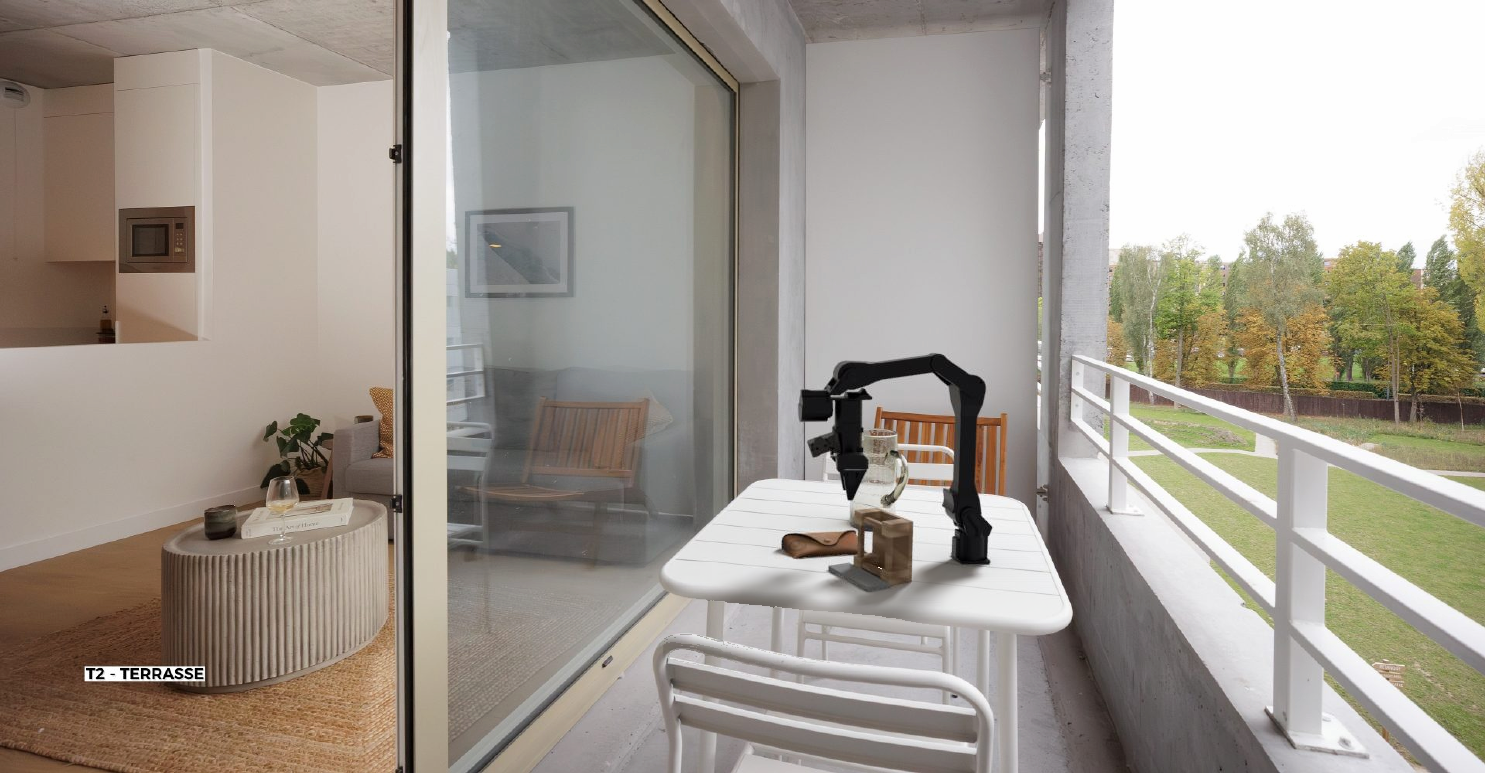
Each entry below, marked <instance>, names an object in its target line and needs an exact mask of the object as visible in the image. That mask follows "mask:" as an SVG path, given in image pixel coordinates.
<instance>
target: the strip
mask: <svg viewBox="0 0 1485 773" xmlns="http://www.w3.org/2000/svg"><path fill="white" fill-rule="evenodd" d="M827 568H828V569H829V571H830V572H832V571H833V572H832V573H834V574H835V573H836V575H837V574H839V575H840V577H841V576H842V577H841V578H843V577H844V578H846V579H847V580H846V579H845V580H846V581H848V580H849V582H850V581H851V582H850V583H852V582H853V583H852V584H854V585H855V584H857V585H859V586H860V587H859V586H858V587H859V588H861V587H862V588H861V589H863V588H864V589H866V590H867V592H868V591H869V592H873V591H872V590H875V591H878V590H877V589H880V590H884V589H883V588H886V589H890V588H891V585H890V583H888V582H886V581H884V580H882V579H881V577H877V575H874V574H872V573H871V572H868V571H867V570H865V571H864V570H862V569H861V568H859V567H857V566H855V565H853V563H851V562H844V563H838V564H831V565H830V564H829V565H828V567H827ZM839 575H838V576H839ZM844 578H843V579H844ZM857 585H856V586H857ZM864 589H863V590H864ZM866 590H865V591H866Z"/></svg>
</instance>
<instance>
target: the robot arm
mask: <svg viewBox="0 0 1485 773" xmlns="http://www.w3.org/2000/svg"><path fill="white" fill-rule="evenodd" d="M925 374H934V375H935V377H937V378H938V379H939V380H940V382H942V383H943V384H944V385H945V386H947V387H948V392H949V400H950V404H951V407H952V409H953V412H954V439H953V440H954V442H953V469H952V483H951V485H950V487H949V488H945V487H943V488H942V494H943V495H942V496H943V502H942V504H941V507H943V508H944V512H945V514H946V515H947V516H948V517H949V519H951V520H952V523H953V525H954V526H955V527H957V528H954V535H952V537H951V553H950V556H952V557H953V558H955V560H956V561H958V562H959V563H960V564H991V559H989V558H988V554H989V552H988V550H989V549H988V548H989V547H988V546H989V537H990V535H991V532H992V530H993V528H994V527H993V525H992V524H990V523H989V521H987V520H986V519H985V518H984V516H983V515H982V507H981V506H982V505H981V499H980V497H979V496H980V495H979V493H978V489H977V486H976V461H977V436H978V435H977V433H978V416H979V414H980V412H981V411H982V410H981V409H982V408H983V405H984V402H985V397H986V393H987V392H986V391H987V385H986V382H985V381H984V379H982V378H981V377H980V376H979V375H977V374H972V373H968V372H967V371H966V370H965V369H963V368H961V367H960V366H959V365H957V364H955V363H954V362H952V360H950V359H949V358H947V357H946V356H945V354H942V353H937V352H931V353H929V354H928V353H927V354H922V355H917V356H910V357H909V356H908V357H902V358H896V359H894V358H893V359H888V360H881V361H865V360H864V361H863V360H842V361H838V363H837V364H836V365H835V367H834V368H833V371H832V377H831V379H830V380H829V381H828V383H826V385H825V386H824V388H823V389H809V388H808V389H807V388H801V389H800V390H799V391H800V393H799V394H800V395H799V400H798V404H797V413H798V414H797V415H798V420H799V423H816V422H817V423H824V422H825V423H826V422H828V419H831V417H833V415H834V424H833V426H831V432H828V433H824V434H822V435H819V436H816V437H813V438H810V439H808V440H806V443H807V446H808V448H809V449H808V450H809V451H810V455H811V457H812V458H818V457H820V455H823V454H826V453H828V452H829V455H830V458H831V460H832V461H834V463H835V468H836V471H837V472H838V473H839V477H840V482H841V486H842V490H843V491H845V494H846V500H847V501H850V502H851V501H854V499H855V497H856V494H857V492H858V490H859V488H860V485H861V483H862V481H863V479H864V477H865V475H866V473H867V472H868V470H869V458H868V457H867V456H866V454H864V447H863V433H864V430H865V428H864V427H863V401H871V400H873V396H872V395H870V394H869V393H868V391H867V390H866V388H865V387H867V386H870V385H872V384H875V383H877V382H880V381H883V380H891V379H892V380H893V379H899V378H904V377H912V376H918V375H925ZM857 389H858V391H854V390H857Z"/></svg>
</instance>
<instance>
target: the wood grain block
mask: <svg viewBox="0 0 1485 773" xmlns="http://www.w3.org/2000/svg"><path fill="white" fill-rule="evenodd" d="M853 520H854V521H853V522H854V524H856V525H857V537H858V546H857V554H853V563H852V564H853V565H855V566H857V567H859V568H861V569H862V570H865V571H869V572H870V573H873V574H875V575H876V576H879V578H880V579H882V580H884V581H886V582H888V583H890V586H894V585H893V584H896V585H901V584H907V583H912V579H913V575H912V574H913V550H914V548H913V545H914V540H913V539H914V521H913V520H911V519H907V518H905V517H902V516H900V515H897V514H894V513H891V512H890V511H886V510H884V509H882V508H878V507H872V508H871V507H870V508H864V509H863V508H861V509H855V510H854V519H853ZM866 526H872V545H871V546H872V547H871V552H868V553H864V550H865V537H866V535H865V534H866V532H865V531H866ZM878 567H880V568H882V569H880V568H878Z"/></svg>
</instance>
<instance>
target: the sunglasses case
mask: <svg viewBox="0 0 1485 773" xmlns="http://www.w3.org/2000/svg"><path fill="white" fill-rule="evenodd" d="M780 545H781V546H780V547H781V549H782V550H783V551H784V552H785V553H786V555H788V556H790V557H791V558H792V559H793V560H797V559H798V558H799V559H805V558H804V557H807V558H815V557H817V558H818V556H819V557H828V556H827V555H834V556H843V555H842V554H849V555H857V546H858V534H857V531H856V530H853V529H850V530H849V529H848V530H844V531H823V532H809V533H807V532H806V533H800V532H799V533H798V532H792V533H791V532H790V533H787V534H784V535H783V536H782V538H781V543H780ZM864 553H869V552H868V551H866V550H865V549H864Z"/></svg>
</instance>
